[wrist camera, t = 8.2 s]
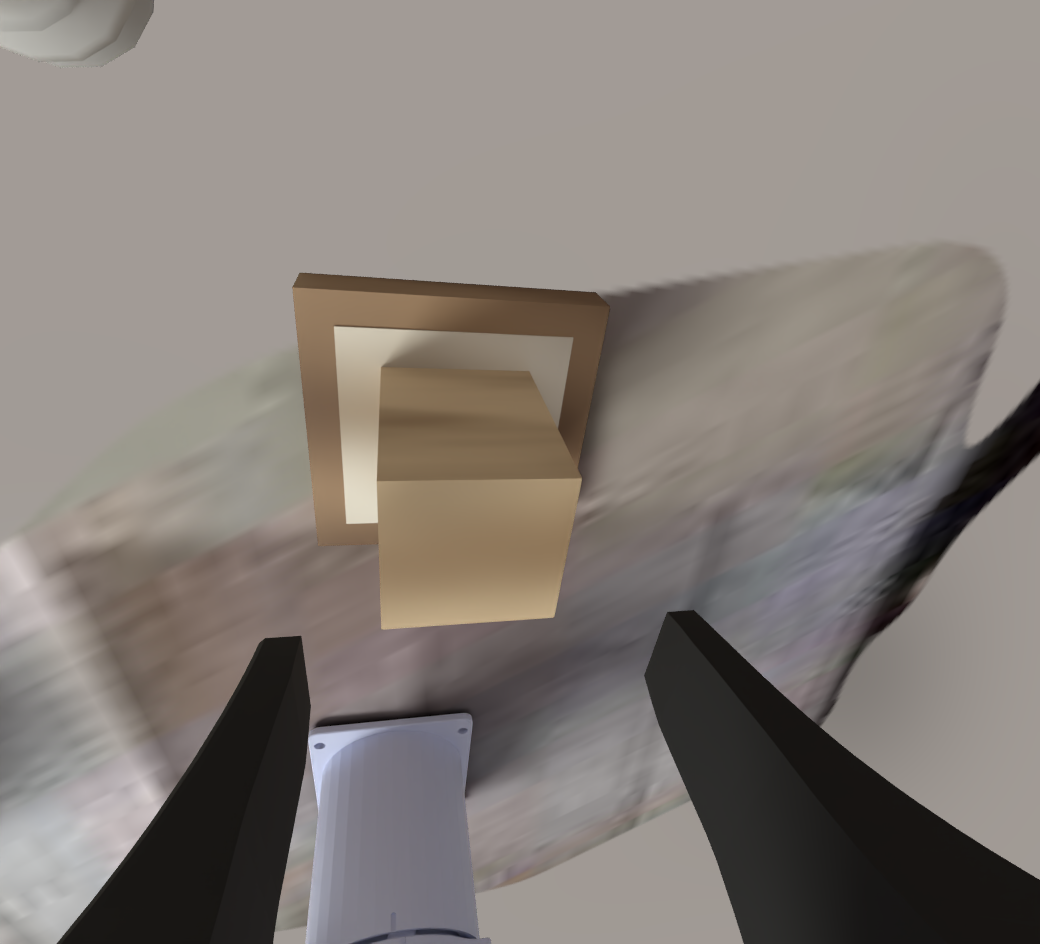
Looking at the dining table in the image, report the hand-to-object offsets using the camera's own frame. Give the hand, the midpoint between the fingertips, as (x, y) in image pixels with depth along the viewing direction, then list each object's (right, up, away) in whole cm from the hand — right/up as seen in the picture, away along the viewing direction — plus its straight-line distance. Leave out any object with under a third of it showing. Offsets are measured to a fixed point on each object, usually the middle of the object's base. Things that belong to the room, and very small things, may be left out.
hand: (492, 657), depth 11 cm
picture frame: (-2, +6, +8) cm, 10 cm away
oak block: (-2, +5, +7) cm, 9 cm away
